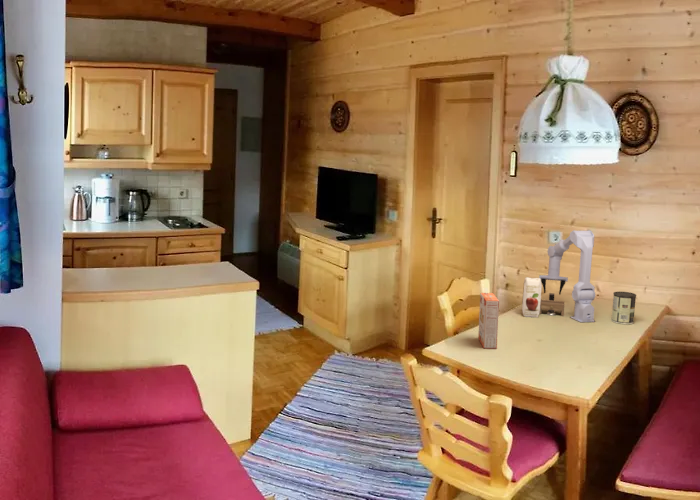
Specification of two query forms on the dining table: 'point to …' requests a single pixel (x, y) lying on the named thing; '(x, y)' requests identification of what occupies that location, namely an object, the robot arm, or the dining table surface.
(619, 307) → the coffee can
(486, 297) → the cracker box
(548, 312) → the steel token
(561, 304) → the walnut u-shaped block
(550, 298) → the brown-topped white block
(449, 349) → the dining table surface
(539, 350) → the dining table surface
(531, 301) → the juice carton
